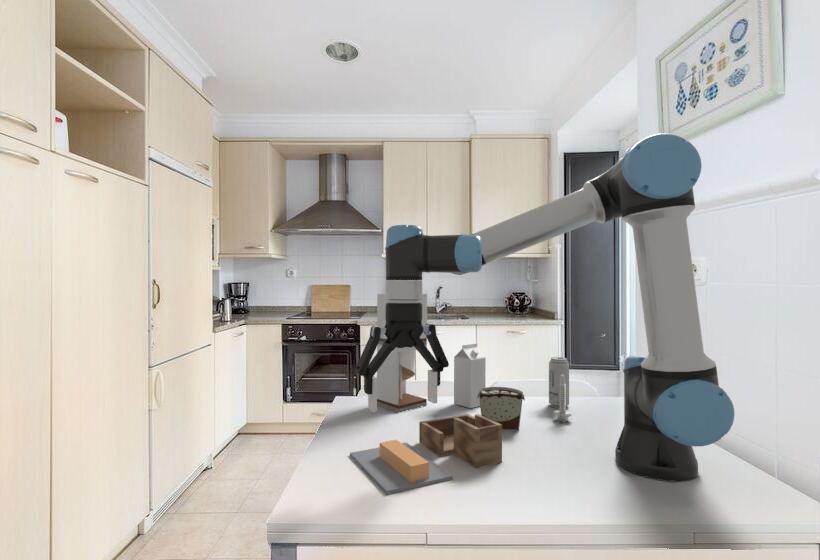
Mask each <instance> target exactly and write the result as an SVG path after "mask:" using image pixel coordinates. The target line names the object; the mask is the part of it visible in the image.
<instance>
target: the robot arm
mask: <svg viewBox="0 0 820 560" xmlns="http://www.w3.org/2000/svg"><path fill="white" fill-rule="evenodd" d="M701 172H702V159H701V156H700V153H699V152H698V150H697V148H696V147H695V146H694V145H693V144H692V142H690V141H689V140H686V139H685V138H683V137H681V136H680V135H677V134H673V133H656V134H652V135H649V136H647V137H645V138H643V139H641V140H640V141H638V142H636V143H635V144H633V145H632V146H630V147H629V149H628V150H627V151H625V154H624V155H623V157H621V158H620V159H619V160H618V161H616V163H615V164H614V165H613V166H612V167H610V168H609V169H608V170H607V171H605V172H604V173H602V174H600V175H599V176H596V177H595V178H593V179H590V180H587V181H586V182H584V184H583V186H582V188H581V189H578V190H576V191H574V192H571V193H569V194H567V195H564V196H562V197H559V198H557V199H553V200H551V201H549V202H547V203H545V204H543V205H540V206H537V207H535V208H533V209H529V210H527V211H525V212H523V213H521V214H519V215H516V216H513V217H511V218H508V219H506V220H503V221H501V222H499V223H496V224H494V225H491V226H488V227H486V228H484V229H481V230H480V231H477V232H475V233H473V234H466V233H462V234H442V235H440V234H439V235H426V234H424V232H423V228H422V227H421V226H420V225H416V224H415V225H414V224H396V225H391V226H389V228H387V230H386V238H385V239H386V240H385V246H384V247H385V248H384V251H385V294H386V299H387V300H389V303H387V304H386V313H385V319H386V325H385V327H384V328H381V327H377V325H376V326H375V325H372V326H371V327H370V329H369V331H370V332H369V338H368V340H367V342H366V344H365V346H364V348H363V350H362V353H361V355H360V358H359V360H358V362H357V363H356V367H355V369H354V373H355V374H357V375H359V376H361V377H363V391H364V394H366V395H367V408H368V410H369V411H371V412H372V413H376V412H378V405H377V376H374V375H376V374H377V370H378V369H379V368H380V366H381V365H382V364H383V362H384V361H385V360H386V358H387V357H388V355H389V354H390V353H391V351H393V350H394V349H395V348H396V347H397V348H404V347H409V348H410V347H413V346H414V347H415V348H416V349H417V350H416V351H417V352H418V353H419V354H420V356H421V357H422V358H423V360H424V361H425V362H426V363H427V364H428V366H429V367H430V368H431V369H427V402H430V403H432V404H438V387H440V385H441V372H443V371H444V368H448V367H449V366H450V364H449V360H448V359H447V356H446V354H445V352H444V349H443V347H442V344H441V343H440V340H439V338H438V336H437V329H436V325H435V324H432V323H427V324H426V325H424V326H422V323H421V321H422V304H421V303H419V300H422V294H423V273H428V274H429V273H445V274H446V273H448V274H449V273H450V274H453V275H457V276H461V275H464V274H465V275H466V274H468V273H478V272H480V271H481V269H482V266H485V265H487V264H491V263H493V262H495V261H497V260H500V259H502V258H505V257H508V256H510V255H512V254H515V253H517V252H520V251H523V250H525V249H528V248H530V247H533V246H535V245H539V244H540V243H543V242H546V241H548V240H551V239H553V238H555V237H558V236H561V235H564V234H566V233H568V232H571V231H573V230H577V229H579V228H581V227H584V226H587V225H588V224H592V223H594V222H595V223H598V224H601V225H603V224H604V223H607V222H609V221H612V220H615V219H619V218H621V219H622V221H623V222H625V223H627V224H628V225H629V226H631V228H632V232H633V241H634V248H635V249H634V250H635V257H636V265H637V273H638V283H639V289H640V295H641V296H640V297H641V304H642V313H643V319H644V329H645V334H646V335H645V336H646V343H647V351H648V355H647V356H645V355H643V356H642V355H630V356H627V357H626V358H625V360H624V367H623V368H622V369H623V371H622V372H623V380H624V381H623V385H624V386H623V387H624V388H623V395H624V397H623V401H624V402H623V405H624V406H623V408H624V409H623V410H624V411H623V413H624V418H623V421H624V422H623V426H622V429H621V433H620V435H619V439H618V441H617V444H616V445H615V457H614V458H615V463H617V464H618V465H619V466H620V467H621V468H623V469H624V470H626V471H629V472H631V473H632V474H633V473H634V474H635V475H638V476H642V477H645V478H649V479H652V480H653V479H654V480H660V481H665V482H667V481H668V482H687V481H692V480H694V479H696V478H697V477H698V475H699V462H698V460H697V457H696V454H695V450H694V448H693V447H705V446H710V445H712V444H714V443H717V442H719V441H720V440H721V439H722V438H724V436H725V435H727V434H728V433H729V432H730V430H731V428H733V427H732V426H733V424H734V420H735V407H734V404H733V402H732V400H731V398H730V395H728V393H727V392H726V391H725V390H724V389H723V388H722V387H720V384H719V377H718V371H717V368H718V367H717V364H716V361H714V360H712V359H711V358H710V357H709V356H707V354H705V350H704V344H703V343H704V342H703V336H702V329H701V321H700V313H699V306H698V305H699V304H698V298H697V292H696V291H697V289H696V284H695V283H696V282H695V276H694V267H693V261H692V254H691V253H692V252H691V245H690V237H689V230H688V222H687V221H688V220H687V219H688V217H689V216H690V215H691V214H692V212H693V211H694V210H695V209H696V205H695V195H694V188H693V187H694V186H695V185H696V184H697V182H698V179H699V178H700V176H701ZM423 332H424V334H425V335H426V337H427V343H428V344H429V346H430V348H431V351H432V352H431V351H430V350H429V348H428V346H427V347H426V346H425V344H424V342H423V341H422V340H421V339H420V336H421V334H422V333H423ZM383 334H385V335H386V337H387V339H386V340H385V342H384V343H383V345H382V347H381V349H380V350H379V351H378V353H377V352H376V354H375V351H376V350H377V345H378V343H379V340H380V338H381V337H382V335H383ZM432 353H433V354H432ZM374 354H375V355H374ZM373 356H374V357H373Z"/></svg>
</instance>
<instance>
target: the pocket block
mask: <svg viewBox="0 0 820 560" xmlns="http://www.w3.org/2000/svg"><path fill="white" fill-rule="evenodd" d="M418 424H419V425H418V426H419V427H418V428H419V430H418V431H419V433H418V434H419V438H418V439H419V440H418V441H419V444H420V445H422V446H423V447H425V448H427V450H429V451H431V452H432V453H434V454H435V455H436V456H438V457H439V458H440V457H445V456H449V455H450V456H451V455H455V456H456V457H458V458H459V459H461V460H462V461H464V462H465V463H467V464H468V465H470V466H472V467H474V468H475V469H478V468H483V467H487V466H490V465H491V466H492V465H495V464H500V463H503V430H502V424H499V423H497V422H495V421H493V420H491V419H488V418H486V417H484V416H482V415H481V414H479V413H478V414H477V413H476V414H474V416H473V415H470V414H469V413H465V414H460V415H453V416H448V417H447V416H446V417H442V418H441V417H440V418H434V419H429V420H423V421H419V423H418Z"/></svg>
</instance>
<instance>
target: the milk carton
mask: <svg viewBox="0 0 820 560" xmlns="http://www.w3.org/2000/svg"><path fill="white" fill-rule="evenodd" d="M486 361H487V360H486V356H485V354H483V352H482V351H481V350H480V348H479V346H478V343H472V344H470V343H469V344H462V345H461V349H460V351H458V352H457V353H456V354H455V356H453V404H454V405H458V406H460V407H465V408H468V409H474V408H478V407H480V398H479V397H478V399H477V396H478V392H479V390H480V389H482V388H486V374H487V373H486V369H487V368H486V366H487V365H486Z"/></svg>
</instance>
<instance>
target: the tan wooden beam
mask: <svg viewBox="0 0 820 560" xmlns="http://www.w3.org/2000/svg"><path fill="white" fill-rule="evenodd" d="M379 447H380V457H381V458H382V459H383V460H384V461H386V462H387V463H388V464H389V465H390V466H392V467H393V468H394V469H395V470H397V471H398V472H399V473H400V474H401V475H403V476H404V477H405V478H406V479H408V480H409V481H410V482H415V481H419V480H423V479H427V478H429V462H428V461H427V460H425V459H424V458H422V457H421V456H419V455H418V454H416V453H415V452H413V451H412V450H410V449H409V448H408V447H406V446H405V445H403V444H402V442H401V441H399V440H397V439H393V440H388V441H382V442H379Z"/></svg>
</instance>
